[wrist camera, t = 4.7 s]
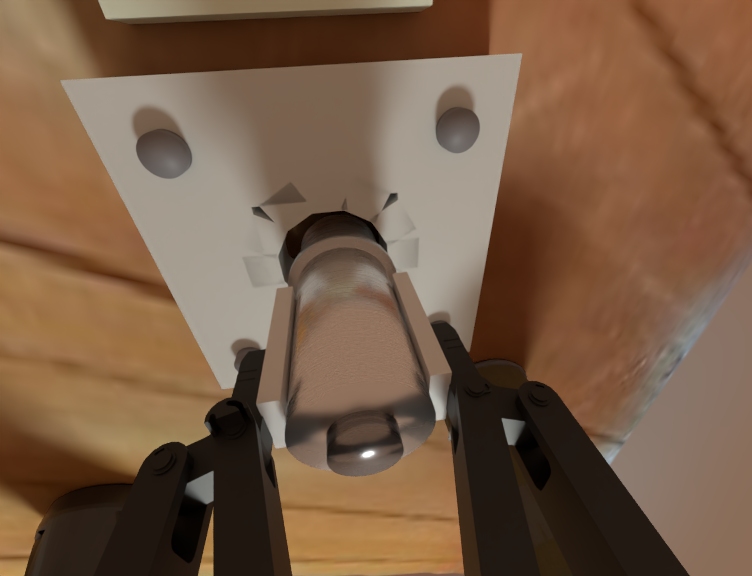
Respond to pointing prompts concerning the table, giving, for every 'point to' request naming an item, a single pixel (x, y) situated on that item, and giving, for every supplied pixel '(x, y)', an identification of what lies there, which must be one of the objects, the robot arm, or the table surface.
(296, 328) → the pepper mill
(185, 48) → the table surface
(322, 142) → the bearing plate
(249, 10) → the parts tray
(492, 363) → the canister
